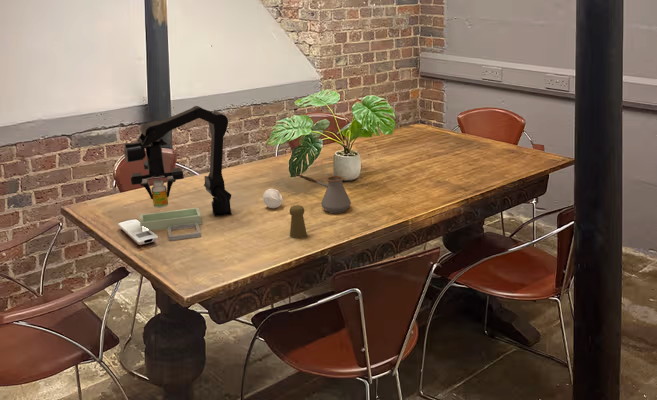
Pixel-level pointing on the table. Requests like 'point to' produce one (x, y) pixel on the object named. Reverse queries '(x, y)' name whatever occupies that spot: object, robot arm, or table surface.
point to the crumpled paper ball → (272, 198)
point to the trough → (170, 218)
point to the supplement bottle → (159, 194)
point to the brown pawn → (297, 222)
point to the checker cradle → (183, 236)
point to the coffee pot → (333, 194)
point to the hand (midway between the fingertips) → (160, 198)
